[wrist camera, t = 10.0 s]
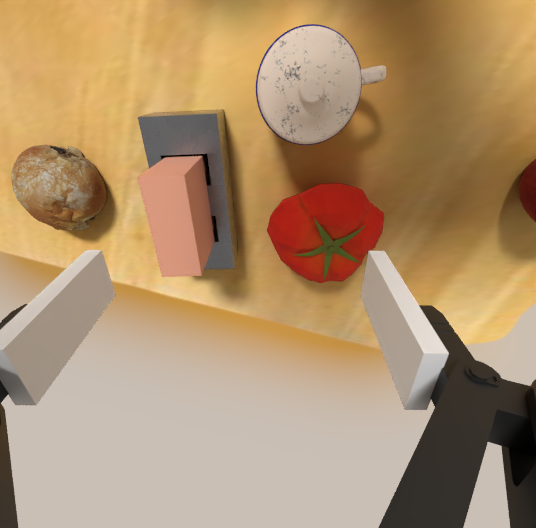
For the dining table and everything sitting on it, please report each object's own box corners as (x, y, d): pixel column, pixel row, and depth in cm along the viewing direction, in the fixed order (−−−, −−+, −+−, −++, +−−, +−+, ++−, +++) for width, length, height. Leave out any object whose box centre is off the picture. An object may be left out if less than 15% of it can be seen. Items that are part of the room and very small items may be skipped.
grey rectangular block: (153, 112, 36) (137, 117, 32) (223, 109, 36) (216, 113, 32) (182, 252, 45) (172, 270, 41) (238, 250, 45) (234, 268, 41)
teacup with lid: (268, 139, 38) (265, 160, 27) (251, 48, 33) (242, 33, 23) (371, 118, 36) (409, 133, 26) (368, 21, 32) (413, -7, 22)
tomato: (277, 269, 46) (277, 305, 39) (261, 184, 40) (259, 209, 33) (373, 255, 45) (393, 291, 38) (372, 166, 39) (396, 187, 31)
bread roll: (120, 162, 43) (91, 145, 35) (109, 237, 44) (78, 237, 36) (43, 147, 42) (-4, 126, 34) (34, 224, 43) (-15, 221, 35)
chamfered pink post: (173, 152, 36) (137, 177, 27) (207, 150, 36) (184, 175, 27) (187, 231, 41) (162, 276, 32) (218, 230, 41) (201, 275, 32)
